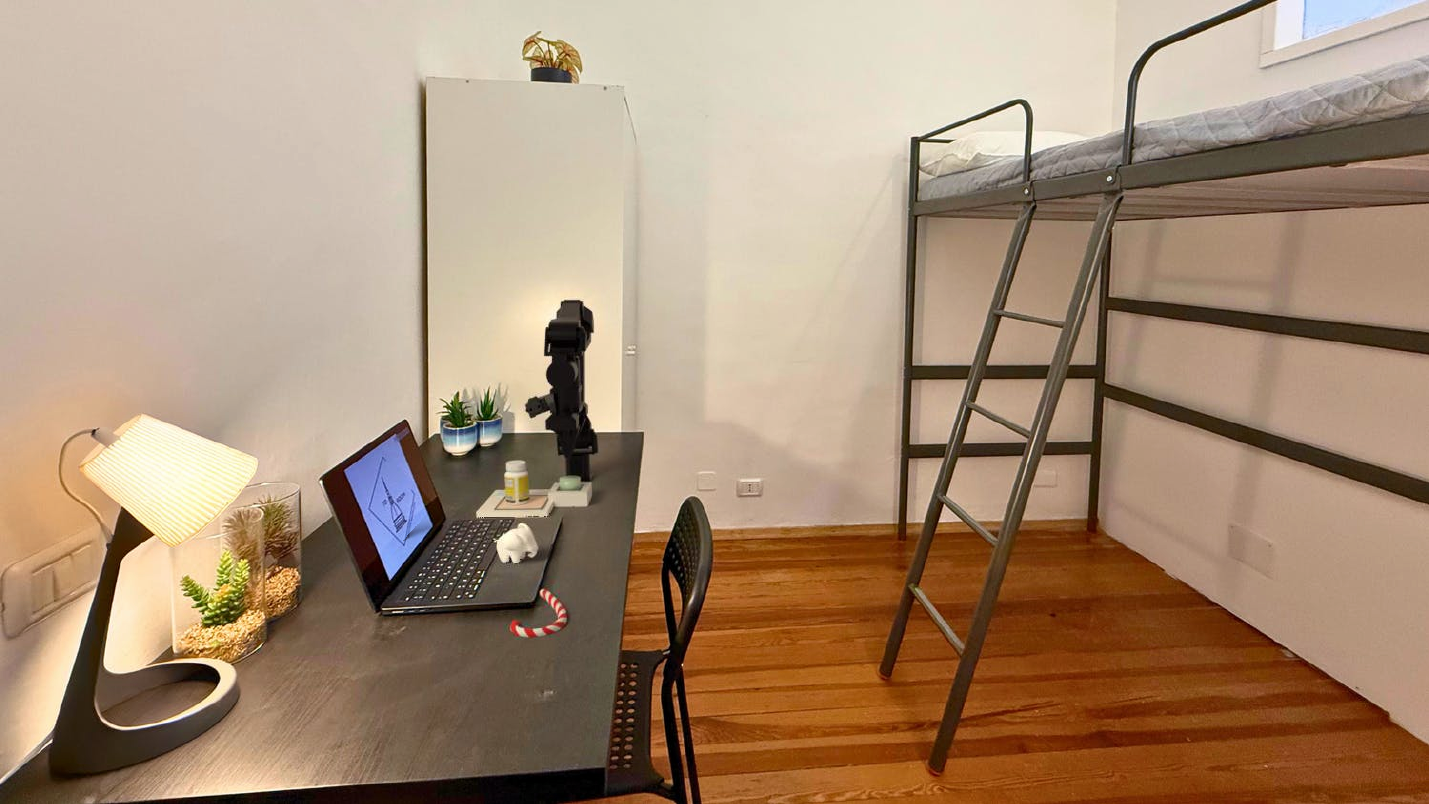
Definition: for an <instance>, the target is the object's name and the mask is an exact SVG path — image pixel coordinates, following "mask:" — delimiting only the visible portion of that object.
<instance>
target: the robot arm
mask: <svg viewBox="0 0 1429 804" xmlns="http://www.w3.org/2000/svg"><path fill="white" fill-rule="evenodd" d="M555 317H556V318H555V319H550V321H549V322H548V326H546V327H545V331H544V343H543V344H544V345H543V346H544V347H543V356H544V357H551V362H550V364H548V366H547V368H546V371H545V377H546V381H547V383H548V384H549V385H550V386H551V388H550V389H549V393H548V394H544V395H541V396H539V397H538V396H537V395H534V396H533V397H530V398H529V397H528V399H527V402H526V403H524V407H525V409H524V411H525V413H528V417H529V418H530V419H534V418H536V417H537V416H539V415H541V414H545V413H548V412H549V414H550V415H549V416H548V417H547V418H546V419H545V420H544V424H545V425H544V426H545V427H544V430H545V431H552V432H554V434H555V435H556V447H557V455H558V456H560V457H561V456H563V457H564V468H565V471H564V472H565V473H564V476H579V477H580V478H581V482H592V481H591V480H592V479H593V476H594V472H591V455H592V456H595V454H598V453H599V441H598V434H597V433H596V431H595V429H594V428H593V427H592V426H593V425H592V422H591V420H590V417H589V416H588V414H589V404H587V403H586V400H585V399H586V396H585V395H586V387H585V386H586V384H585V383H586V378H585V375H586V371H585V370H586V367H585V366H586V362H585V361H586V360H585V358H586V357H585V355H586V353H585V352H586V351H587V349H588V347H589V346H590V345H591V343H592V334H595V319H594V314H593V311H592V310H591V309H590V308H588V307H587V306H585V304H584V301H583V300H581V299H564V300H561V301H560V307H559V308H558V309H557V311H556V316H555Z"/></svg>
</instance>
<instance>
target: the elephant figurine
mask: <svg viewBox="0 0 1429 804" xmlns="http://www.w3.org/2000/svg"><path fill="white" fill-rule="evenodd" d="M492 540H494V541H496V550H497V553H498V557H499V559H500V561H501V562H502V563H504V564H506V562H507V563H509V562H510V560H511V562H512V563H513V564H515V563H518V564H520V563H521V560H520V559H523V558H524V557H526V552H528V554H527V557H529V558H534V557H535V556H536V555H537V554H538V553H537V552H538V550H540V548H539V546H538V543H537V542H536V538H535V535H534V533H533V531H532V529H531V528H530V527H529V525H527V524H526V523H525V522H521V523H518V525H517V528H512V529H509V530H508V531H507V532H505V533H504V534H503V535H502V536H500V537H499V539H495V538H494V537H493V539H492ZM509 558H511V559H509ZM524 559H525V558H524ZM524 559H523V560H524ZM519 562H520V563H519Z"/></svg>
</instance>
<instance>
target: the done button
mask: <svg viewBox="0 0 1429 804" xmlns="http://www.w3.org/2000/svg"><path fill="white" fill-rule="evenodd" d="M559 483H560V491H579V490H581V478H580V477H579V476H565V475H564V476H561V477H560V478H559Z"/></svg>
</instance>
